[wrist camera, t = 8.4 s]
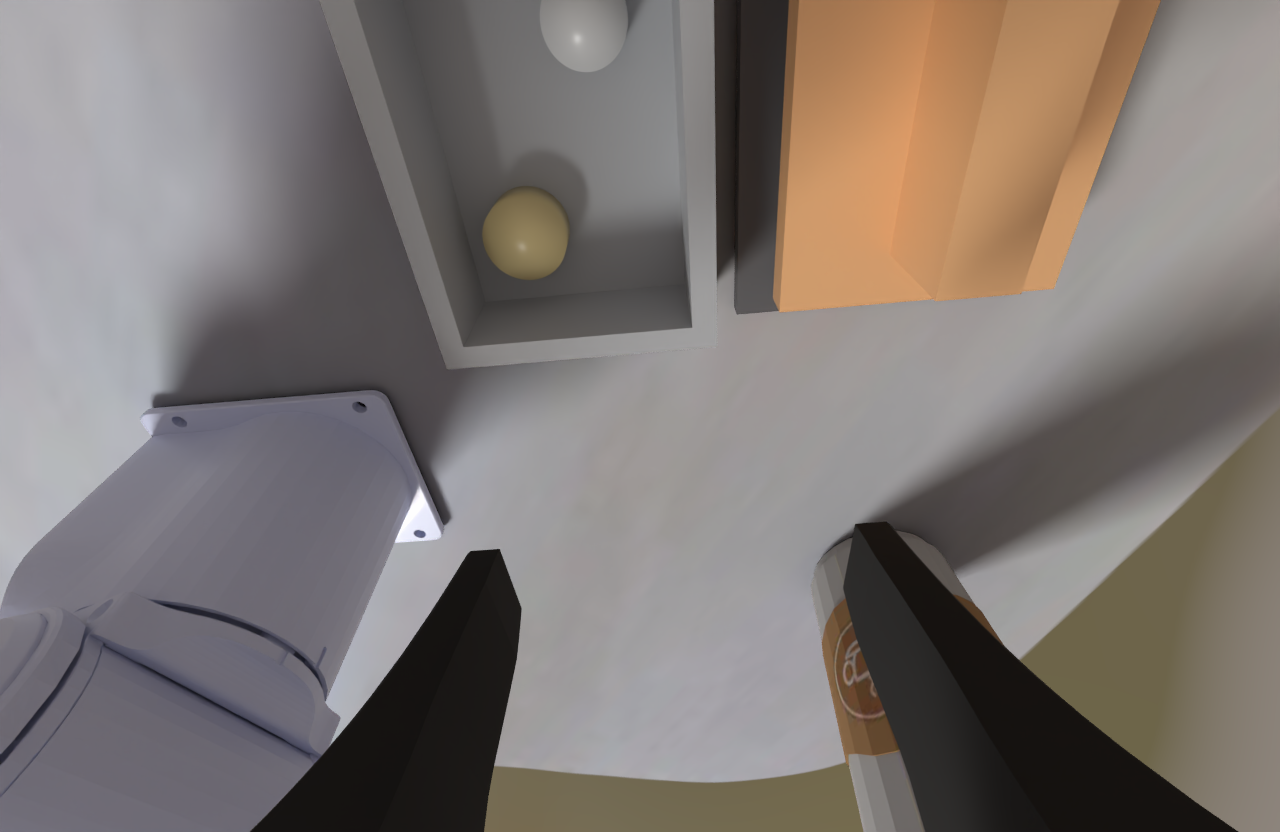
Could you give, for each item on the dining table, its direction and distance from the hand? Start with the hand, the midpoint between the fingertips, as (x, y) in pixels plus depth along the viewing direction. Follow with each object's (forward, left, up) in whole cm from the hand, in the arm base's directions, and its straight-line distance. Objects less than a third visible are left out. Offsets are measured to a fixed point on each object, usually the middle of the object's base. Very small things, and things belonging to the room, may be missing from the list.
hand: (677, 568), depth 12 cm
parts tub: (-2, +7, -10) cm, 13 cm away
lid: (+8, +7, -10) cm, 14 cm away
